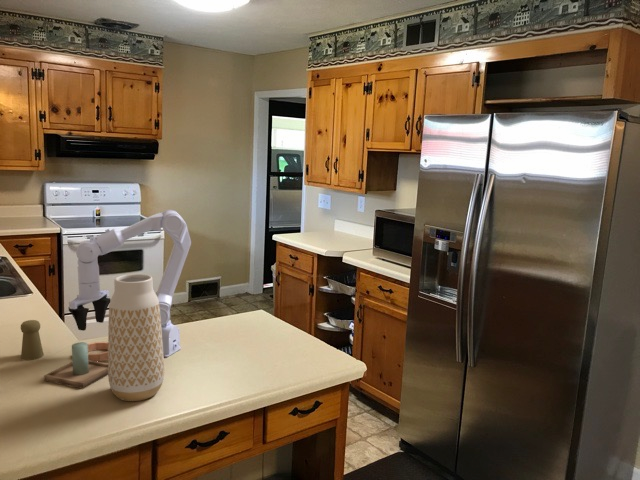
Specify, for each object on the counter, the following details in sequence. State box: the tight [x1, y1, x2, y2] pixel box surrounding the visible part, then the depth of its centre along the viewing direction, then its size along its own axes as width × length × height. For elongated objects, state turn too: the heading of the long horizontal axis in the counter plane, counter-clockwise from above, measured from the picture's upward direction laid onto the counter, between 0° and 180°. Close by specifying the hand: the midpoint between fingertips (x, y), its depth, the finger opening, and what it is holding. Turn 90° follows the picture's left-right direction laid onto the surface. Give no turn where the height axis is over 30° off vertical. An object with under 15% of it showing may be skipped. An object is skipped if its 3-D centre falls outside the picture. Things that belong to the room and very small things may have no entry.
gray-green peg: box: [71, 342, 89, 375], centre depth 149 cm, size 4×4×8 cm
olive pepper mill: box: [20, 319, 45, 361], centre depth 161 cm, size 6×6×11 cm
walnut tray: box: [43, 360, 108, 389], centre depth 150 cm, size 13×13×2 cm
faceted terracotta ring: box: [87, 341, 108, 362], centre depth 164 cm, size 11×11×2 cm
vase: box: [107, 273, 165, 402], centre depth 138 cm, size 14×14×31 cm
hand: (91, 325), depth 161 cm, fingers open, 7 cm apart
